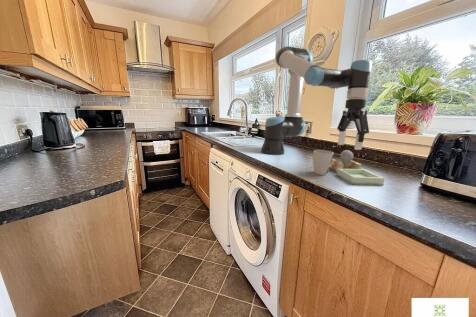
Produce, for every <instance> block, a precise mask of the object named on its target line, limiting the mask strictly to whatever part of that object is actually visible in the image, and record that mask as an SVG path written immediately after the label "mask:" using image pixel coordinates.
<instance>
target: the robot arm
mask: <svg viewBox="0 0 476 317" xmlns="http://www.w3.org/2000/svg"><path fill="white" fill-rule="evenodd" d="M313 59H314V56H313V54H312V51H311V50H309V49H307V48H301V47H300V48H299V47H294V46H288V45H287V46H283V47H281V48H280V49H279V50H278V51H277V53H276V54H275V63H276V64H277V66H279V67H280V68H281V69H284V70H285V69H287V70H288V71H287V72H288V75H289V76H290V78H289V86H288V87H289V88H288V89H289V90H288V99H287V109H286V110H287V111H286V114H285V115H284V116H274V117H273V116H272V117H268V118H267V119H265V124H264V126H265V130H264V141H263V144H262V146H261V149H260V151H261V153H263V154H265V155H276V156H278V155H284V154H285V148H284V142H283V138H287V137H289V138H290V137H292V138H295V137H300V136H301V135H303V134H304V132H305V130H306V125H307V124H306V121H305V120H304V119H303V115H302V114H301V112H302V111H301V110H302V103H303V92H304V85H305V84H307V85H309V86H313V87H314V86H317V87H327V88H330V89H336V90H337V89H340V88H346V87H347V90H346V92H347V94H346V99H347V100H345V107H344V108H345V109H347V110H343V111H342V116H341V117H340V119H339V120H340V121H339V123H338V125H337V127H336V128H337V129H336V130H338V132H339V134H338V140H337V145H338V146H344V145H345V142H346V141H345V140H346V133H347V128H348V127H349V125H350V123H351V122H354V125H355V128H356V131H357V133H356V137H355V142H354V148H353V150H355V151H356V150H359V151H361V150H362V148H363V142H364V139H365V135H367V134H369V133H370V129H369V123H368V122H369V121H368V116H367V115H368V110H367V109H365V108H366V102H367V100H366V98H367V97H368V90H369V82H370V79H371V78H370V77H371V72H372V63H373V62H372V61H371V60H370V59H358V60H354V61H352V62H351V64H350V67H349V68H347V69H341V70H340V69H333V68H327V67H321V66H319V65H317V64H315V63H313V61H314V60H313ZM304 83H305V84H304ZM364 109H365V110H364Z"/></svg>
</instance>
